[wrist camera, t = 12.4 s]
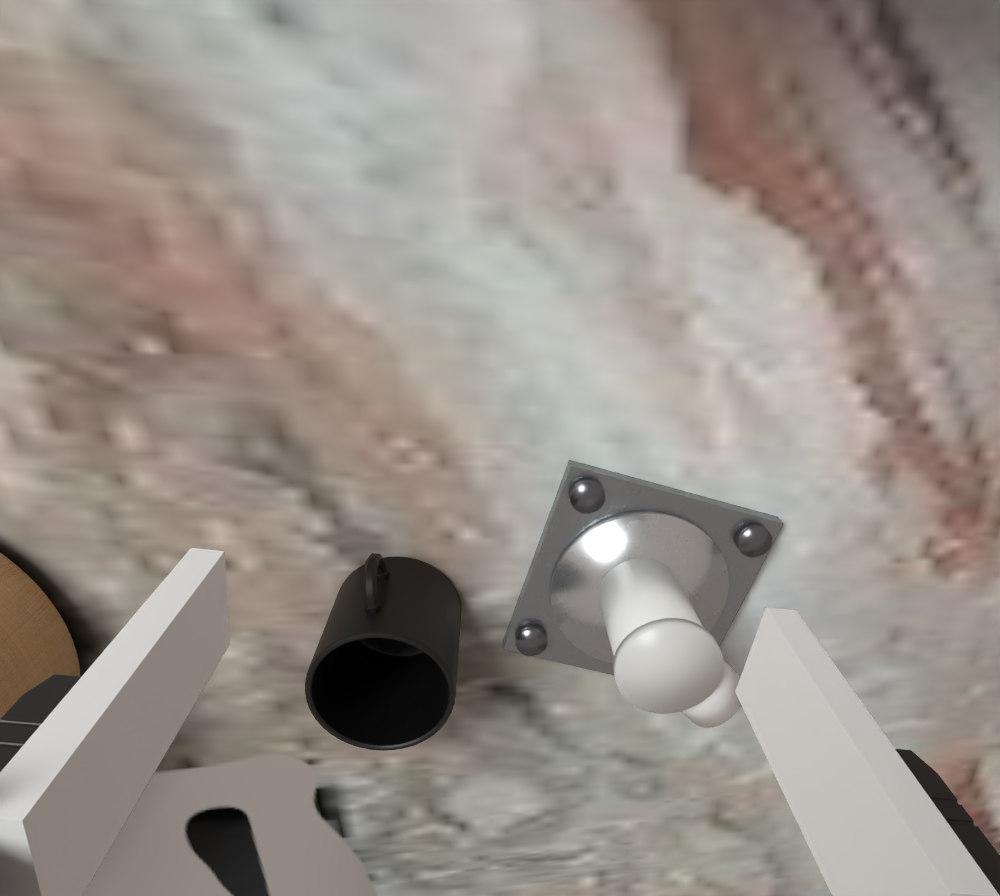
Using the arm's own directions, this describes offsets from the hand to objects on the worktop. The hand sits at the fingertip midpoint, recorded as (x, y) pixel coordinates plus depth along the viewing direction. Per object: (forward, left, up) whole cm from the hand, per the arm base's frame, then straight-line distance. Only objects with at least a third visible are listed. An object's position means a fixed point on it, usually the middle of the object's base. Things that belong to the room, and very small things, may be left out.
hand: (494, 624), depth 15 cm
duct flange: (+13, +15, -27) cm, 33 cm away
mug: (+19, -2, -27) cm, 33 cm away
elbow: (+14, +16, -25) cm, 33 cm away
